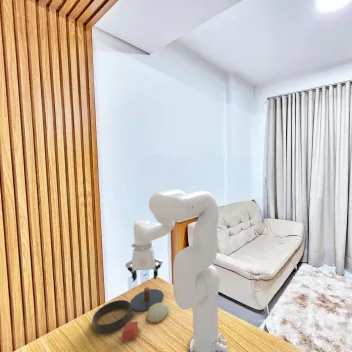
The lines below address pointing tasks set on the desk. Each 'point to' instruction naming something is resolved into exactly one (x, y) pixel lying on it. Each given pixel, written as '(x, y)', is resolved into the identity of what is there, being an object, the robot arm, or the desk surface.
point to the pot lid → (146, 299)
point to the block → (130, 330)
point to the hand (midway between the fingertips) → (145, 278)
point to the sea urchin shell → (157, 312)
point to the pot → (114, 325)
